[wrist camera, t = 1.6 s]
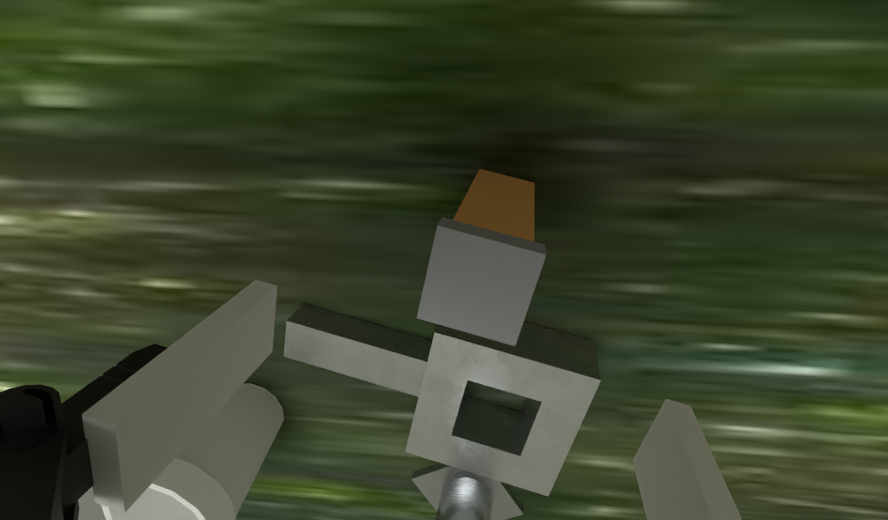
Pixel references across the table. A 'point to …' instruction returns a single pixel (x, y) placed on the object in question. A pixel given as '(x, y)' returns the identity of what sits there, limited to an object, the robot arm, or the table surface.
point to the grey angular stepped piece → (466, 402)
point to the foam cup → (213, 463)
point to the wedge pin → (485, 261)
